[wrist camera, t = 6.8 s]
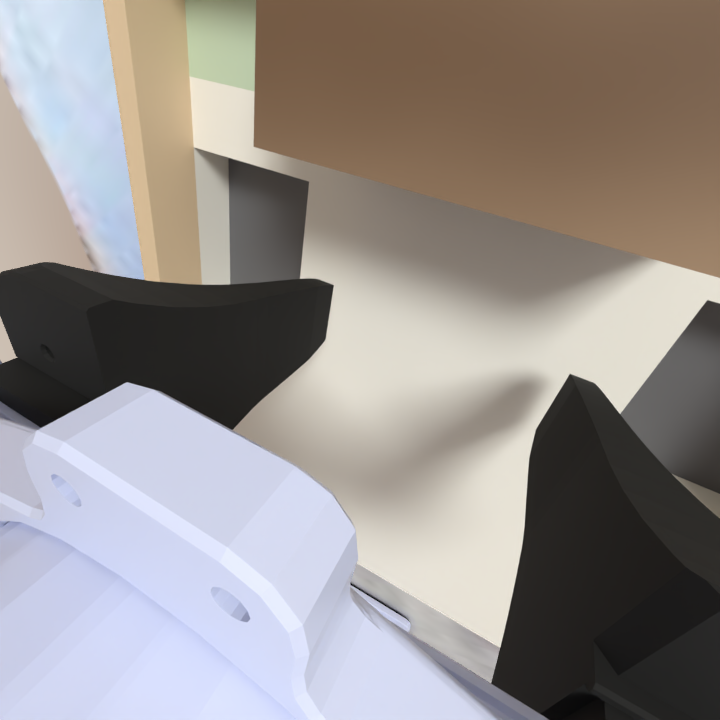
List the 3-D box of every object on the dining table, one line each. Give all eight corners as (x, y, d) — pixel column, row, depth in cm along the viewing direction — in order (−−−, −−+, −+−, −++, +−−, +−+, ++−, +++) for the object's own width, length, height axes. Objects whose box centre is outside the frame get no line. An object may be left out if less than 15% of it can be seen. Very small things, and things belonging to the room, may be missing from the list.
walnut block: (695, 237, 9) (769, 292, 5) (343, 145, 11) (253, 146, 8) (857, -3, 6) (1145, -149, 3) (370, -52, 9) (258, -161, 6)
